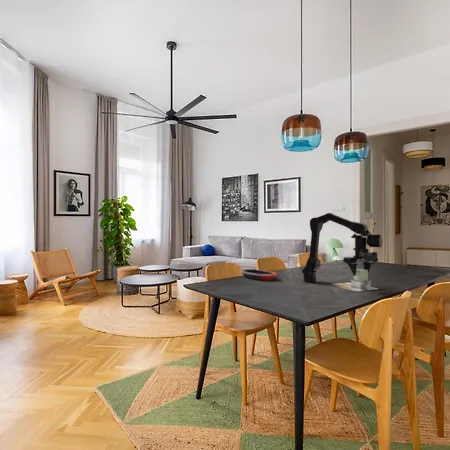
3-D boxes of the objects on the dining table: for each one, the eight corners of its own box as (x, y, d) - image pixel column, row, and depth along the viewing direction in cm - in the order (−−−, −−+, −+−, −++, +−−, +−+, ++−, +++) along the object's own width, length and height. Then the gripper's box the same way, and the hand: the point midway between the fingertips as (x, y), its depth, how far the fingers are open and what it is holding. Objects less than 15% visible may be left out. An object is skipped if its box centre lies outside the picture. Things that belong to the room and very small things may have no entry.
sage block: (360, 281, 168) (360, 270, 168) (353, 280, 173) (353, 269, 173) (367, 281, 170) (367, 270, 170) (360, 279, 175) (360, 268, 175)
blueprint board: (355, 293, 164) (355, 282, 164) (329, 285, 183) (329, 276, 183) (379, 290, 169) (379, 280, 169) (352, 283, 189) (352, 274, 189)
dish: (252, 274, 227) (252, 267, 227) (284, 280, 203) (284, 272, 203) (235, 276, 218) (235, 269, 218) (267, 283, 193) (267, 275, 193)
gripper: (357, 248, 160) (357, 279, 161) (386, 247, 167) (386, 276, 167) (342, 246, 171) (342, 275, 171) (369, 245, 177) (369, 273, 177)
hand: (360, 275), depth 171 cm, fingers open, 8 cm apart
